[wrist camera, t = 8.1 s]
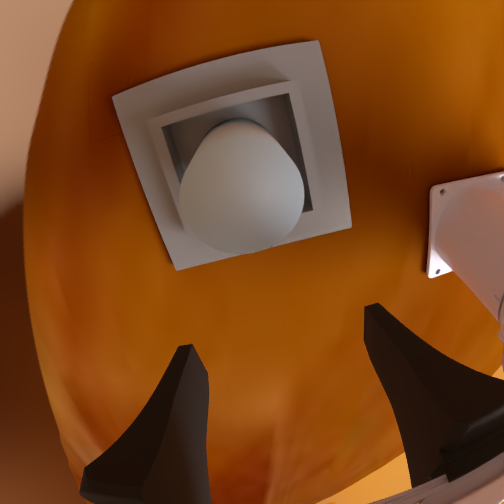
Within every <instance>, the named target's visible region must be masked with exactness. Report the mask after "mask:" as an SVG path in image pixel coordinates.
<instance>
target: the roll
mask: <svg viewBox="0 0 504 504" xmlns="http://www.w3.org/2000/svg"><path fill="white" fill-rule="evenodd" d="M179 198H180V207H181V211H182V214H183V217H184V219H185V221H186V223H187V225H188V227H189V228H190V229H191V231H192V232H193V233H194V234H195V235H196V236H197V237H198V238H199V239H200V240H201V241H203V242H204V243H206V244H207V245H209V246H211V247H213V248H215V249H217V250H220V251H223V252H228V253H234V254H248V253H255V252H259V251H262V250H265V249H267V248H269V247H272V246H274V245H275V244H277V243H278V242H280V241H281V240H282V239H284V238H285V237H286V236H287V235H288V234H289V233H290V232H291V230H292V229H293V228H294V226H295V225H296V223H297V221H298V220H299V217H300V215H301V212H302V209H303V205H304V186H303V181H302V178H301V175H300V172H299V170H298V168H297V167H296V165H295V164H294V162H293V161H292V159H291V158H290V157H289V156H288V154H287V153H286V152H285V151H284V149H283V148H282V147H281V146H280V144H279V143H278V142H277V141H276V140H275V138H274V137H273V136H272V135H271V133H270V132H269V131H268V130H267V129H266V128H265V127H263V126H262V125H261V124H259V123H257V122H255V121H253V120H249V119H244V118H234V119H228V120H225V121H223V122H220V123H218V124H217V125H215V126H214V127H213V128H211V129H210V130H209V131H208V133H207V134H206V135H205V137H204V138H203V140H202V142H201V144H200V146H199V147H198V149H197V151H196V153H195V155H194V156H193V158H192V160H191V162H190V164H189V166H188V168H187V169H186V171H185V173H184V176H183V178H182V182H181V186H180V194H179Z"/></svg>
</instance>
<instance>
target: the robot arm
mask: <svg viewBox="0 0 504 504" xmlns="http://www.w3.org/2000/svg"><path fill="white" fill-rule="evenodd" d="M501 177H502V178H501ZM442 189H443V191H442V193H440V191H441V190H442ZM437 269H438V270H437ZM436 270H437V271H436ZM450 271H454V272H455V273H456V275H457V276H458V277H459V278H460V279H461V280H462V281H463V282H464V283H465V284H466V285H467V286H468V288H469V289H470V290H471V291H472V292H473V293H474V294H475V295H476V297H477V298H478V299H479V300H480V301H481V302H482V303H483V305H484V306H485V307H486V308H487V309H488V311H489V312H490V313H491V314H492V315H493V317H494V318H495V319H496V320H497V321H498V323H499V324H500V325H501V328H500V331H499V333H498V337H499V338H500V340H501V341H502V342H503V344H504V171H502V172H497V173H492V174H487V175H482V176H477V177H472V178H467V179H463V180H458V181H453V182H448V183H443V184H439V185H435V186H433V187H432V188H431V190H430V222H429V245H428V260H427V271H426V273H427V276H428V277H429V278H433V277H436V276H439V275H442V274H445V273H448V272H450ZM364 342H365V345H366V348H367V351H368V354H369V357H370V360H371V362H372V364H373V366H374V369H375V371H376V373H377V375H378V377H379V379H380V381H381V383H382V385H383V388H384V390H385V392H386V394H387V396H388V398H389V401H390V403H391V405H392V408H393V411H394V414H395V417H396V420H397V424H398V427H399V431H400V434H401V438H402V442H403V446H404V450H405V454H406V458H407V463H408V468H409V473H410V479H411V485H412V489H410V490H408V491H404V492H402V493H399V494H396V495H393V496H391V497H388V498H385V499H382V500H379V501H376V502H373V503H369V504H417V503H419V504H500V503H502V502H503V501H504V380H502V379H498V378H495V377H491V376H488V375H486V374H483V373H481V372H478V371H475V370H473V369H471V368H469V367H467V366H465V365H463V364H461V363H458V362H456V361H455V360H453V359H451V358H449V357H447V356H446V355H444V354H442V353H441V352H439V351H438V350H436V349H435V348H433V347H432V346H430V345H429V344H427V343H426V342H425V341H423V340H422V339H421V338H419V337H418V336H417V335H415V334H414V333H413V332H412V331H410V330H409V329H408V328H407V327H405V326H404V325H403V324H402V323H401V322H400V321H398V320H397V319H396V318H395V317H394V316H393V315H392V314H390V313H389V312H388V311H387V310H386V309H385V308H384V307H383V306H382V305H380V304H379V303H375V304H372V305H368V306H365V307H364ZM502 367H503V371H504V351H503V355H502ZM208 405H209V382H208V373H207V371H206V369H205V367H204V365H203V363H202V361H201V360H200V358H199V356H198V354H197V352H196V350H195V348H194V346H193V344H189V345H183V346H179V347H178V348H177V350H176V352H175V354H174V356H173V358H172V360H171V362H170V364H169V366H168V368H167V369H166V371H165V373H164V375H163V377H162V379H161V380H160V382H159V384H158V386H157V388H156V389H155V391H154V393H153V394H152V396H151V397H150V399H149V401H148V402H147V404H146V405H145V407H144V408H143V410H142V411H141V412H140V414H139V415H138V416H137V418H136V419H135V420H134V422H133V423H132V424H131V425H130V427H129V428H128V429H127V430H126V431H125V432H124V433H123V434H122V436H121V437H120V438H119V439H118V440H117V441H116V442H115V443H114V444H113V445H112V446H111V447H110V448H109V449H107V450H106V451H105V452H104V453H103V454H102V455H101V456H99V457H98V458H97V459H95V460H94V461H93V462H92V463H90V464H89V465H88V466H86V467H85V468H84V472H83V477H82V481H81V486H80V495H81V496H82V497H83V498H85V499H87V500H89V501H90V502H92V503H94V504H212V502H211V495H210V487H209V479H208V468H207V454H206V434H207V419H208Z"/></svg>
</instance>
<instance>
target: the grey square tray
mask: <svg viewBox="0 0 504 504" xmlns="http://www.w3.org/2000/svg"><path fill="white" fill-rule="evenodd" d="M112 99H113V103H114V106H115V109H116V112H117V115H118V118H119V122H120V125H121V128H122V131H123V134H124V137H125V140H126V143H127V145H128V148H129V151H130V154H131V157H132V160H133V163H134V165H135V168H136V171H137V174H138V176H139V179H140V182H141V185H142V187H143V190H144V193H145V195H146V198H147V200H148V203H149V206H150V208H151V211H152V213H153V216H154V218H155V221H156V223H157V226H158V228H159V231H160V233H161V236H162V238H163V240H164V243H165V245H166V248H167V250H168V252H169V255H170V257H171V259H172V262H173V264H174V266H175V269H176V271H177V270H181V269H185V268H190V267H194V266H198V265H202V264H206V263H210V262H214V261H218V260H222V259H226V258H230V257H234V256H238V255H242V254H234V253H228V252H223V251H220V250H217V249H215V248H213V247H211V246H209V245H207V244H206V243H204V242H203V241H201V240H200V239H199V238H198V237H197V236H196V235H195V234H194V233H193V232H192V231H191V229H190V228H189V227H188V225H187V223H186V221H185V219H184V217H183V214H182V211H181V207H180V198H179V194H180V186H181V182H182V178H183V176H184V173H185V171H186V169H187V168H188V166H189V164H190V162H191V160H192V158H193V156H194V155H195V153H196V151H197V149H198V147H199V146H200V144H201V142H202V140H203V138H204V137H205V135H206V134H207V133H208V131H209V130H210V129H211V128H213V127H214V126H215V125H217V124H218V123H220V122H223V121H225V120H228V119H234V118H244V119H249V120H253V121H255V122H257V123H259V124H261V125H262V126H263V127H265V128H266V129H267V130H268V131H269V132H270V133H271V135H272V136H273V137H274V138H275V140H276V141H277V142H278V143H279V144H280V146H281V147H282V148H283V149H284V151H285V152H286V153H287V154H288V156H289V157H290V158H291V159H292V161H293V162H294V164H295V165H296V167H297V168H298V170H299V172H300V175H301V178H302V181H303V186H304V205H303V209H302V212H301V215H300V217H299V220H298V221H297V223H296V225H295V226H294V228H293V229H292V230H291V232H290V233H289V234H288V235H287V236H286V237H285V238H284V239H282V240H281V241H280V242H278V243H277V244H275V245H274V246H278V245H283V244H287V243H291V242H295V241H299V240H303V239H307V238H311V237H315V236H319V235H323V234H327V233H331V232H335V231H339V230H343V229H347V228H351V227H352V223H351V213H350V205H349V196H348V189H347V181H346V174H345V167H344V160H343V154H342V148H341V142H340V136H339V130H338V125H337V120H336V114H335V109H334V104H333V99H332V94H331V90H330V85H329V81H328V76H327V72H326V68H325V64H324V59H323V55H322V51H321V47H320V44H319V40H317V41H309V42H301V43H294V44H288V45H282V46H276V47H270V48H265V49H260V50H255V51H250V52H246V53H242V54H237V55H233V56H229V57H225V58H221V59H217V60H214V61H210V62H206V63H203V64H199V65H196V66H193V67H190V68H186V69H183V70H180V71H177V72H174V73H171V74H168V75H165V76H162V77H160V78H157V79H154V80H151V81H149V82H146V83H143V84H141V85H138V86H136V87H133V88H131V89H128V90H126V91H124V92H121V93H119V94H117V95H114V96H112ZM274 246H272V247H274ZM269 248H270V247H269Z"/></svg>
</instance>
